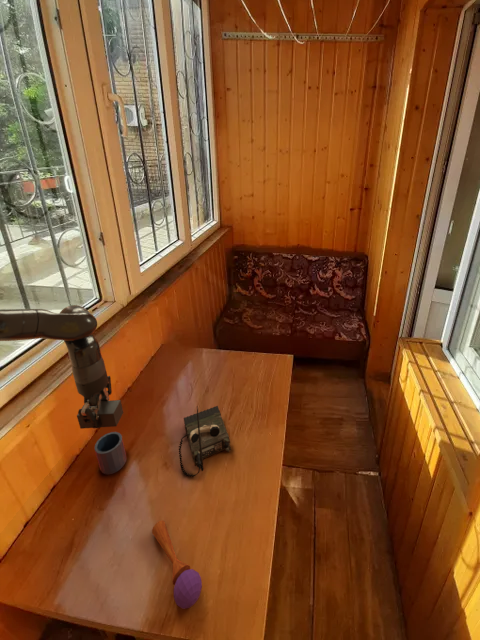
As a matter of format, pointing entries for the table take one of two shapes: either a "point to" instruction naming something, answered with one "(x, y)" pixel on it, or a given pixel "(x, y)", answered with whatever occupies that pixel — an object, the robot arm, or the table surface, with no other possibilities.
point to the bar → (106, 414)
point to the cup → (110, 453)
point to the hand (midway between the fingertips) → (101, 418)
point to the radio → (205, 436)
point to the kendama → (179, 571)
